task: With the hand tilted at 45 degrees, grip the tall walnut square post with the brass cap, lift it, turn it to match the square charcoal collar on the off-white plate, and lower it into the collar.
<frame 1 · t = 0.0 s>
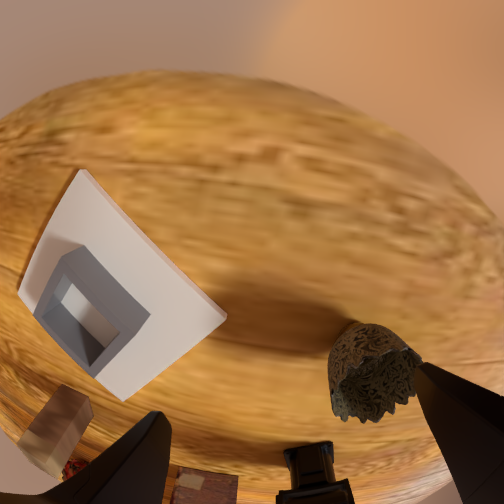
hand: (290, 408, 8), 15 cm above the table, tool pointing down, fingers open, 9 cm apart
walnut post: (77, 400, 28), on the table
book: (206, 495, 35), on the table
dragon fruit: (85, 464, 35), on the table
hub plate: (99, 303, 24), on the table
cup: (352, 335, 24), on the table
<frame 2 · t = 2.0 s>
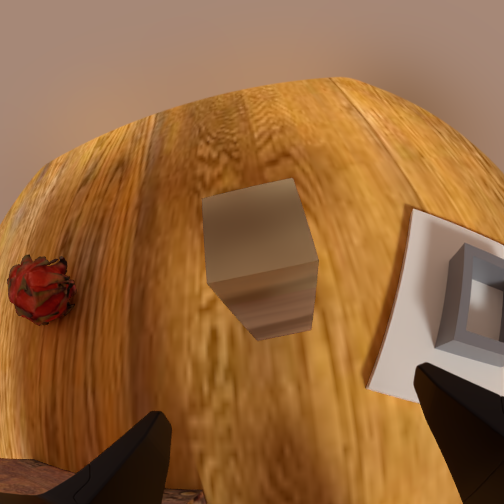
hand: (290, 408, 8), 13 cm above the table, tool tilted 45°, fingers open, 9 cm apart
walnut post: (279, 310, 23), on the table
dragon fruit: (61, 301, 28), on the table
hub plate: (473, 317, 19), on the table
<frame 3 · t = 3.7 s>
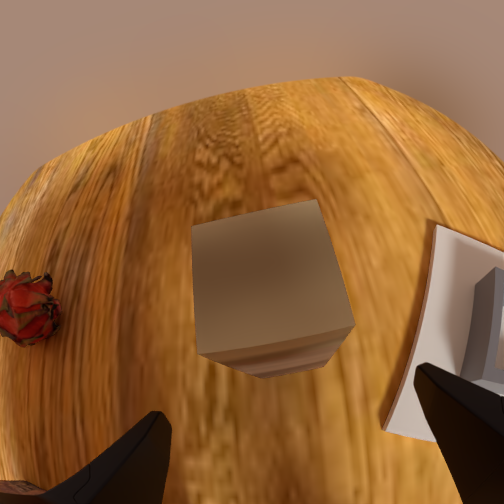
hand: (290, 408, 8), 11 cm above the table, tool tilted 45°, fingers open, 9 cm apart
walnut post: (287, 343, 20), on the table
dragon fruit: (47, 319, 25), on the table
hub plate: (496, 345, 15), on the table
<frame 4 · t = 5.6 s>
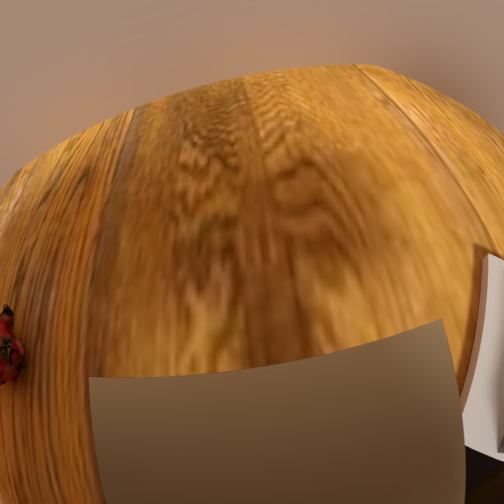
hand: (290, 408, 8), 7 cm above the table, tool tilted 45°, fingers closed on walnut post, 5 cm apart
walnut post: (299, 423, 13), on the table, touching gripper
dragon fruit: (14, 356, 18), on the table
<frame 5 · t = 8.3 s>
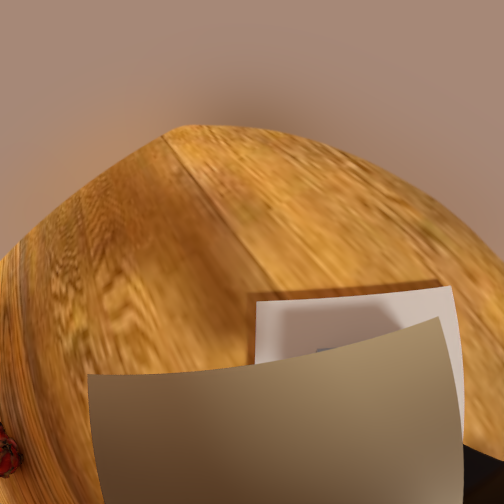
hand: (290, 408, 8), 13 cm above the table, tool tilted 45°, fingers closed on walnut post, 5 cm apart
walnut post: (298, 422, 13), point 7 cm above the table, touching gripper
dragon fruit: (14, 451, 18), on the table
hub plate: (367, 402, 18), on the table
when the fingers open (9 cm above the table, at t = 10.9 s): walnut post drops 1 cm, resting on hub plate.
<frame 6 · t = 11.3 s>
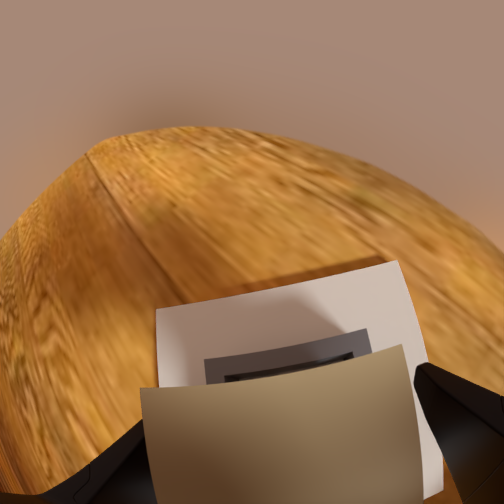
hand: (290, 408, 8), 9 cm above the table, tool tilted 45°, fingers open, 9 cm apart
walnut post: (298, 420, 14), point 1 cm above the table, touching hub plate
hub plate: (299, 418, 15), on the table
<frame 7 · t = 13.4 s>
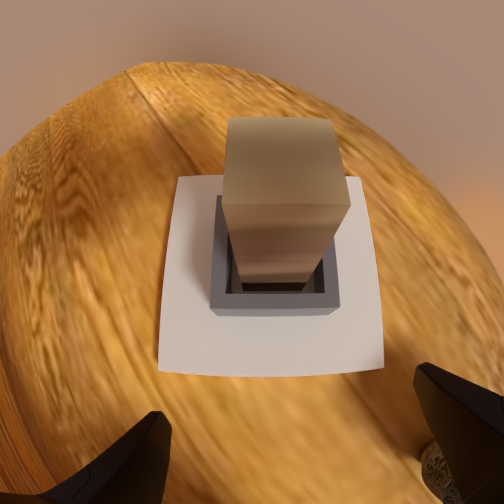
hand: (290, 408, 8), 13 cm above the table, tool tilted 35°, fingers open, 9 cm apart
walnut post: (272, 263, 22), point 1 cm above the table, touching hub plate
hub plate: (272, 267, 23), on the table
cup: (431, 450, 16), on the table
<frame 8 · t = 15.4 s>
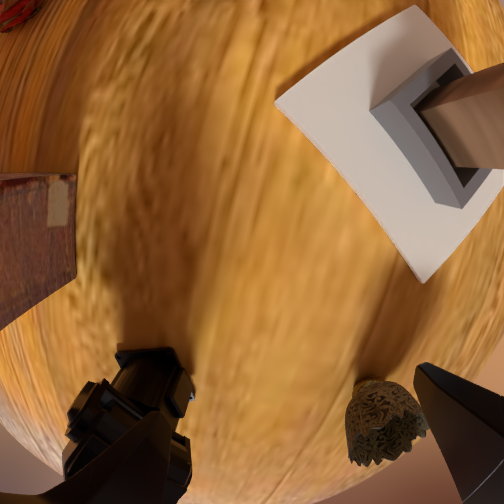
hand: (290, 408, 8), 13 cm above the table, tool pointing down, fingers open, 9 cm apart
walnut post: (436, 126, 16), point 1 cm above the table, touching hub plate
book: (1, 213, 20), on the table
dragon fruit: (30, 9, 13), on the table
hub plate: (429, 128, 17), on the table
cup: (366, 384, 24), on the table
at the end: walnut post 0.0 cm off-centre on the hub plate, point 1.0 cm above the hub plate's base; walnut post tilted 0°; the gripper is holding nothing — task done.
